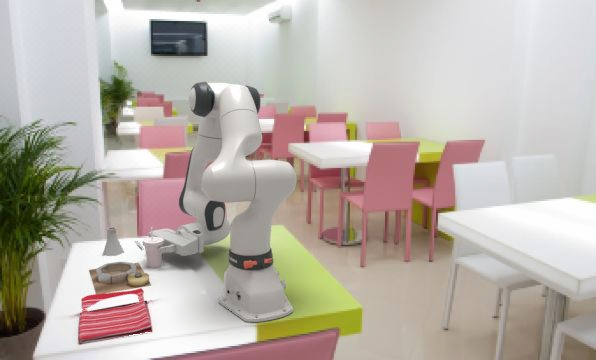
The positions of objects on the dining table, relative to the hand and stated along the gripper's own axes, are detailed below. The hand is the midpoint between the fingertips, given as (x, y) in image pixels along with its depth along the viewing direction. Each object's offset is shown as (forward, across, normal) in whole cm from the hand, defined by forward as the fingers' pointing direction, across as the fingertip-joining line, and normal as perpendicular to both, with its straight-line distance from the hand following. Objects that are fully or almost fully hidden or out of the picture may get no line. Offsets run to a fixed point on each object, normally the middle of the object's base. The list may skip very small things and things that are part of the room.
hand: (151, 247), depth 161 cm
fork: (-8, -20, +8) cm, 23 cm away
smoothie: (-1, 0, +8) cm, 8 cm away
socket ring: (+12, 0, +6) cm, 14 cm away
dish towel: (+24, +21, +8) cm, 33 cm away
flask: (+3, -20, +8) cm, 22 cm away
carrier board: (+12, +1, +8) cm, 14 cm away
